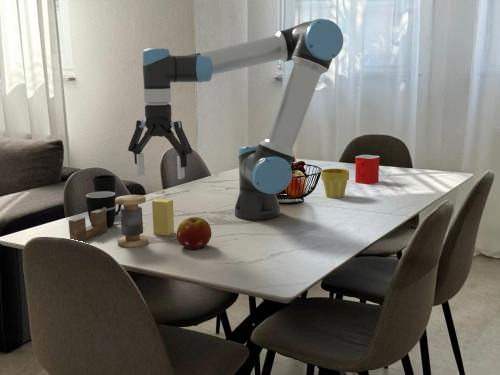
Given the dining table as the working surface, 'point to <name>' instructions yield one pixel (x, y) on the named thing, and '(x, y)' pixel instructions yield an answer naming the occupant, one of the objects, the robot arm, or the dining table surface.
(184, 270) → the dining table surface
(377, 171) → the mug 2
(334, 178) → the plant pot
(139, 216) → the bobbin
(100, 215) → the notched board
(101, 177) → the cup
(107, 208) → the mug
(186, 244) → the fruit
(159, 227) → the yellow block
